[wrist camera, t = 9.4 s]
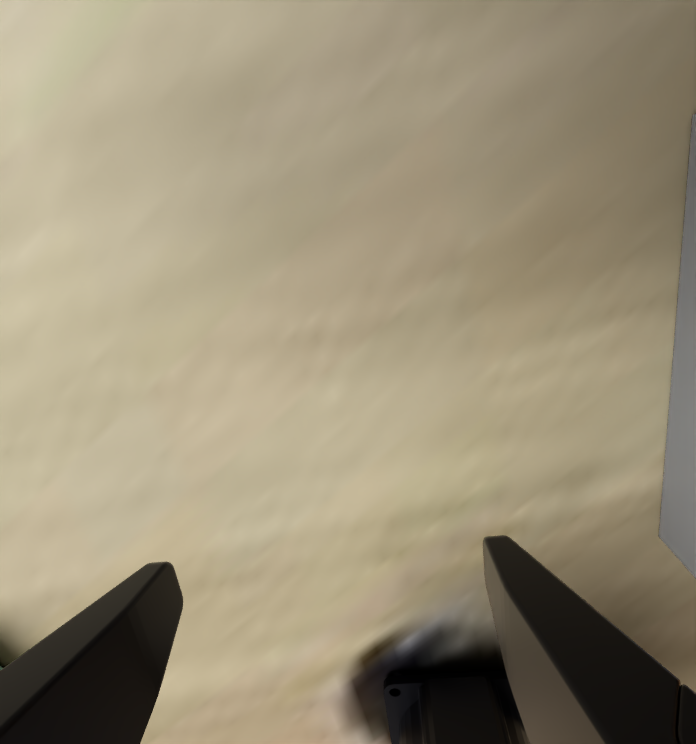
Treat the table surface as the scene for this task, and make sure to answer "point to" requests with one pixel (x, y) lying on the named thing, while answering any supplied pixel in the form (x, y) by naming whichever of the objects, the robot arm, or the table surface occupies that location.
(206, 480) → the table surface
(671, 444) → the grey hollow box
